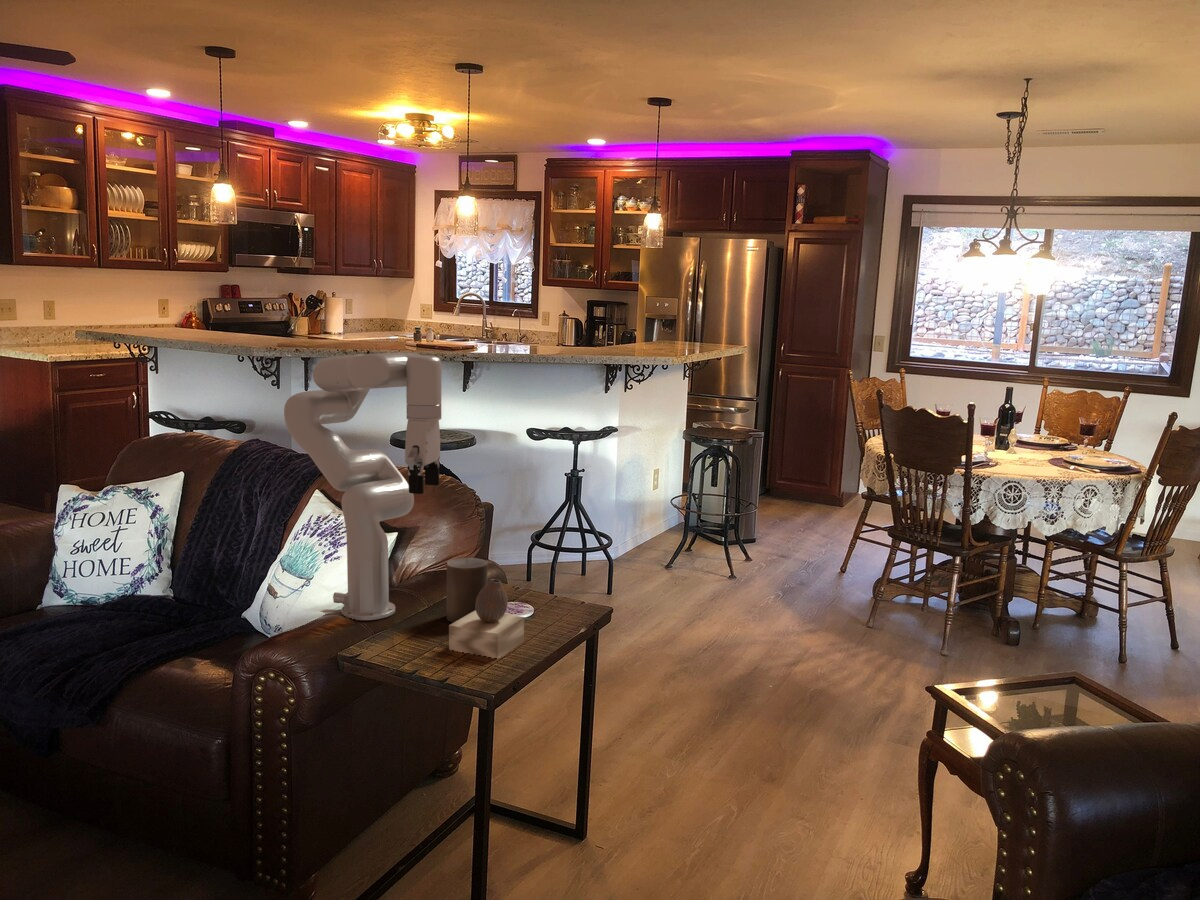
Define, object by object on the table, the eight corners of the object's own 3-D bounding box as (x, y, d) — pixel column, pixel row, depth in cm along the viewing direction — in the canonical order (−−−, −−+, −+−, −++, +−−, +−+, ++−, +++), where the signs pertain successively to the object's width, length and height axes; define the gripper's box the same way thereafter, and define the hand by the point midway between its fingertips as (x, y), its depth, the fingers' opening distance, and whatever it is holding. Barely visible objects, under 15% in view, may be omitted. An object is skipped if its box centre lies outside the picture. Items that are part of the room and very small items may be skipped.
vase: (474, 612, 212) (481, 574, 211) (505, 617, 212) (512, 579, 211) (471, 621, 205) (478, 581, 204) (503, 626, 205) (510, 587, 204)
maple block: (449, 651, 207) (448, 625, 206) (477, 634, 218) (477, 609, 217) (497, 661, 202) (497, 634, 201) (524, 642, 213) (524, 617, 212)
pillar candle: (484, 625, 222) (485, 563, 220) (442, 624, 222) (443, 561, 220) (489, 612, 232) (490, 552, 230) (449, 611, 232) (450, 551, 230)
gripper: (421, 407, 218) (422, 481, 220) (392, 416, 201) (393, 495, 203) (453, 408, 216) (453, 482, 219) (426, 417, 199) (426, 497, 202)
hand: (424, 489), depth 211 cm, fingers open, 9 cm apart
